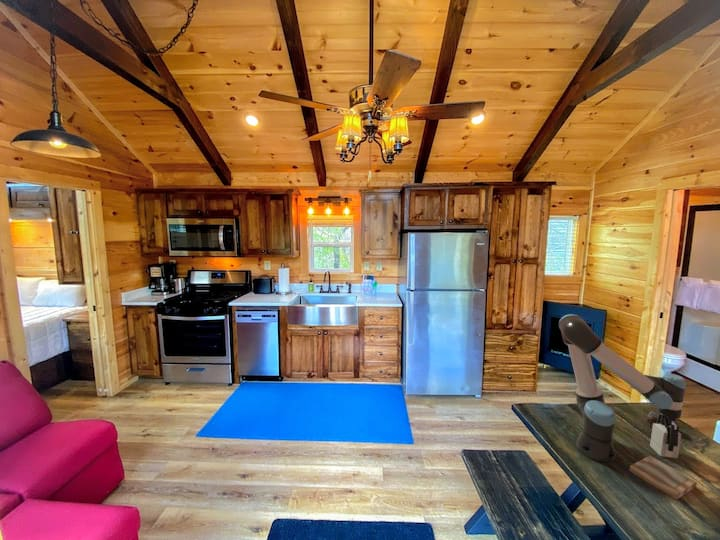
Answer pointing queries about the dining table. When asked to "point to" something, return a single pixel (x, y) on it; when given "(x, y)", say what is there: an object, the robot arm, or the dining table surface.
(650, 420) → the rock
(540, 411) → the dining table surface
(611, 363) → the robot arm
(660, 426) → the supplement box
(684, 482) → the plinth
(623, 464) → the dining table surface
